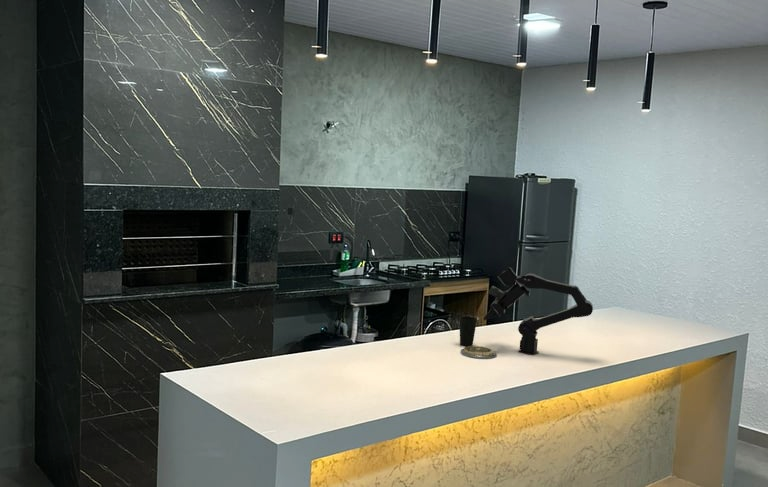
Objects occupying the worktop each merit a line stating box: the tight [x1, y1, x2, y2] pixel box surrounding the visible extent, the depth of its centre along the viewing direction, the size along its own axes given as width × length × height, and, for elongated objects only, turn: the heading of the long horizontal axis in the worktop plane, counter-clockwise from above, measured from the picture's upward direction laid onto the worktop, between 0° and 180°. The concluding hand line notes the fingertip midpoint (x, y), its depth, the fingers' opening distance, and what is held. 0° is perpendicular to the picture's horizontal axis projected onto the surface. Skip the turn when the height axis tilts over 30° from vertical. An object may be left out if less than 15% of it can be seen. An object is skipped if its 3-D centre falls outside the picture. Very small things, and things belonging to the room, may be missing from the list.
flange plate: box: [460, 345, 497, 360], centre depth 287 cm, size 15×15×2 cm
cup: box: [458, 315, 478, 347], centre depth 302 cm, size 8×8×12 cm
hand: (485, 317), depth 299 cm, fingers open, 9 cm apart
